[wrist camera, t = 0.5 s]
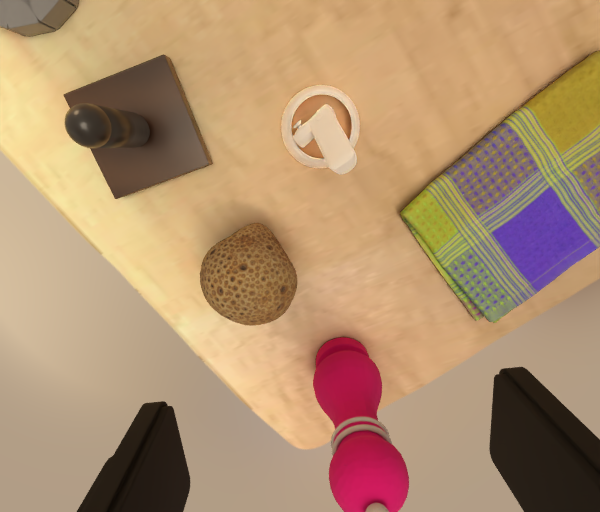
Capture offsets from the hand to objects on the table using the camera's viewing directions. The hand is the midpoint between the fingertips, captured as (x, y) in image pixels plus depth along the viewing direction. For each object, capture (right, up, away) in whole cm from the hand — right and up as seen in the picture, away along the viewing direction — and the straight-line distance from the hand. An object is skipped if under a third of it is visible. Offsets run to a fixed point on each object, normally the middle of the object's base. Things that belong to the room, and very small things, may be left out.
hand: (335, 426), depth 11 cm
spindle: (-16, +17, +25) cm, 34 cm away
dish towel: (+23, +11, +28) cm, 38 cm away
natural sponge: (-6, +4, +29) cm, 30 cm away
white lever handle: (+1, +17, +25) cm, 31 cm away
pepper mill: (+4, -7, +33) cm, 34 cm away
